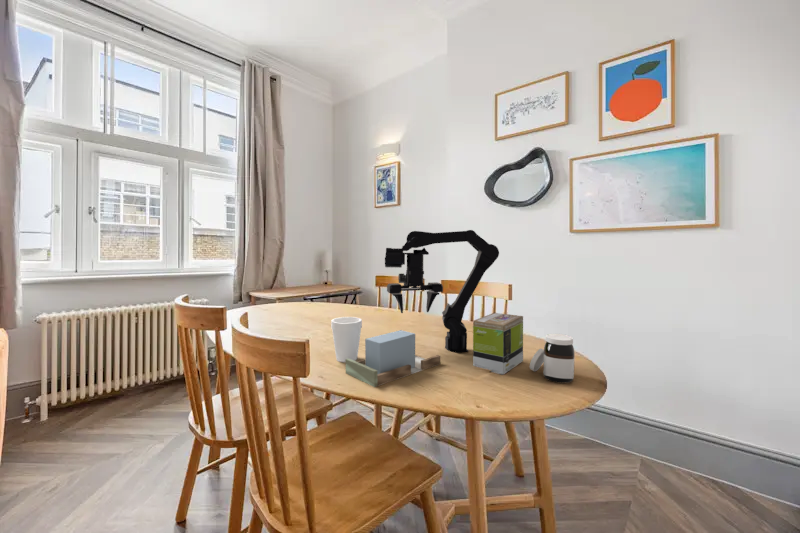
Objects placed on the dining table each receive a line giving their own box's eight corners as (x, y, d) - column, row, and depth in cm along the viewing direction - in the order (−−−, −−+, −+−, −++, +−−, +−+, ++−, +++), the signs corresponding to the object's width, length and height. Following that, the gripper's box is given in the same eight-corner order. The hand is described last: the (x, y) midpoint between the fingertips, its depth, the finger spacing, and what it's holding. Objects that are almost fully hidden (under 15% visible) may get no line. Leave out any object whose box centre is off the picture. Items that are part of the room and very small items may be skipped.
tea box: (493, 355, 118) (494, 311, 117) (523, 362, 111) (525, 315, 110) (471, 367, 106) (472, 319, 105) (503, 376, 100) (504, 324, 99)
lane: (398, 351, 122) (398, 338, 121) (456, 371, 103) (456, 355, 103) (334, 369, 104) (334, 354, 104) (389, 396, 86) (389, 378, 86)
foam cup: (325, 363, 110) (325, 321, 109) (341, 354, 118) (341, 316, 117) (352, 367, 106) (352, 324, 105) (366, 358, 115) (366, 318, 114)
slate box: (400, 362, 109) (400, 330, 108) (415, 367, 105) (415, 333, 104) (365, 374, 99) (365, 338, 98) (379, 380, 95) (379, 343, 94)
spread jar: (575, 387, 92) (577, 343, 91) (529, 381, 96) (530, 338, 95) (570, 371, 103) (572, 332, 103) (529, 366, 107) (530, 328, 106)
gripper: (433, 265, 132) (433, 307, 133) (384, 266, 128) (384, 309, 129) (443, 268, 121) (443, 313, 122) (390, 268, 117) (390, 315, 118)
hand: (414, 312), depth 123 cm, fingers open, 9 cm apart
